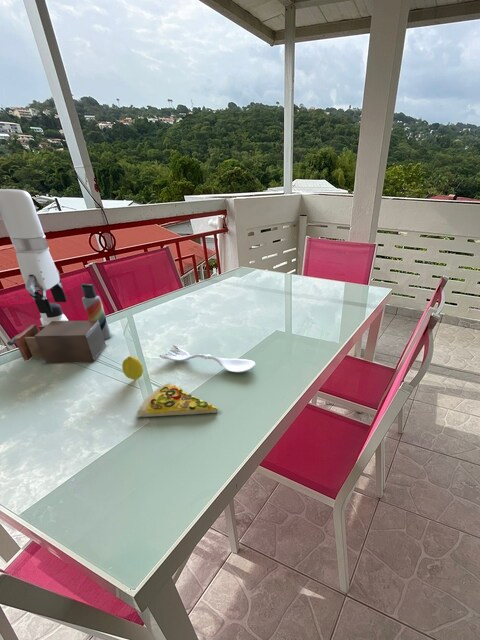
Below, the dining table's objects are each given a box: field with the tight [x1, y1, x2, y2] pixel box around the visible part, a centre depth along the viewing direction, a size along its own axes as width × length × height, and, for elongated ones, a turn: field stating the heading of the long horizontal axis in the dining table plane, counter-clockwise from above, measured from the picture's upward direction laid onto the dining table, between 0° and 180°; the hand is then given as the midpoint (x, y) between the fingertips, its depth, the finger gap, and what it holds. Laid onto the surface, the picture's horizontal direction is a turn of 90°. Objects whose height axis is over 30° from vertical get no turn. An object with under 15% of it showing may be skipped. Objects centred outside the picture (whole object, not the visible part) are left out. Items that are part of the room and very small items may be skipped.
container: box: [39, 302, 69, 326], centre depth 119 cm, size 8×8×13 cm
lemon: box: [121, 355, 144, 381], centre depth 100 cm, size 6×6×8 cm
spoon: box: [158, 344, 256, 373], centre depth 111 cm, size 9×32×4 cm, turn 77°
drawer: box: [6, 324, 46, 362], centre depth 109 cm, size 18×11×8 cm, turn 99°
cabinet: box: [34, 320, 107, 364], centre depth 111 cm, size 15×13×10 cm
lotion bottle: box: [80, 283, 112, 340], centre depth 120 cm, size 6×6×20 cm
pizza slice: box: [137, 382, 219, 418], centre depth 91 cm, size 16×21×3 cm
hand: (54, 307), depth 97 cm, fingers open, 9 cm apart
